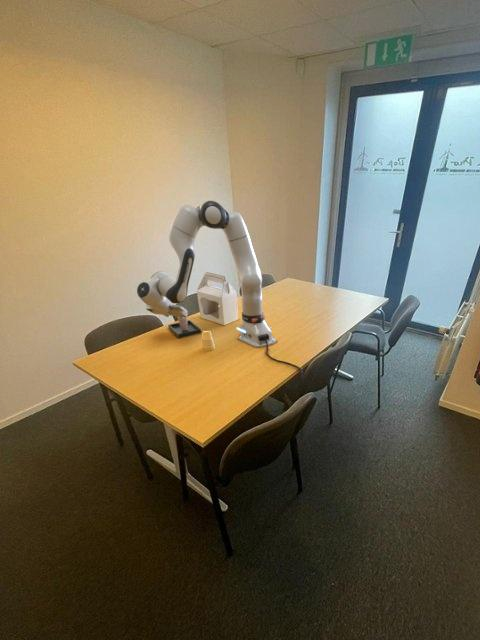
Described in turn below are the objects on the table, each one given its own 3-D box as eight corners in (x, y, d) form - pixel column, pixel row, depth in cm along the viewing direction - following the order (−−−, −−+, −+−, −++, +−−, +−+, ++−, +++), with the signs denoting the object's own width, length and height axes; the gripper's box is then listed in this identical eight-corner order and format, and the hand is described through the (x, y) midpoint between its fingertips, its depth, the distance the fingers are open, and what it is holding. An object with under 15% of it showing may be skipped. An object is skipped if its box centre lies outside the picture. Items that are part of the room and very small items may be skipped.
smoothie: (185, 326, 180) (181, 303, 172) (192, 328, 177) (188, 306, 169) (176, 329, 176) (172, 306, 168) (183, 332, 173) (179, 309, 165)
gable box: (200, 317, 195) (193, 273, 179) (214, 311, 204) (210, 269, 188) (224, 325, 184) (220, 279, 169) (239, 319, 194) (236, 275, 178)
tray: (201, 332, 175) (200, 329, 174) (178, 338, 168) (177, 334, 167) (190, 323, 186) (189, 320, 184) (168, 328, 179) (167, 324, 178)
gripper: (181, 301, 151) (193, 313, 164) (145, 297, 154) (160, 309, 167) (178, 312, 149) (191, 323, 163) (142, 308, 153) (157, 319, 166)
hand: (175, 316), depth 165 cm, fingers open, 8 cm apart
